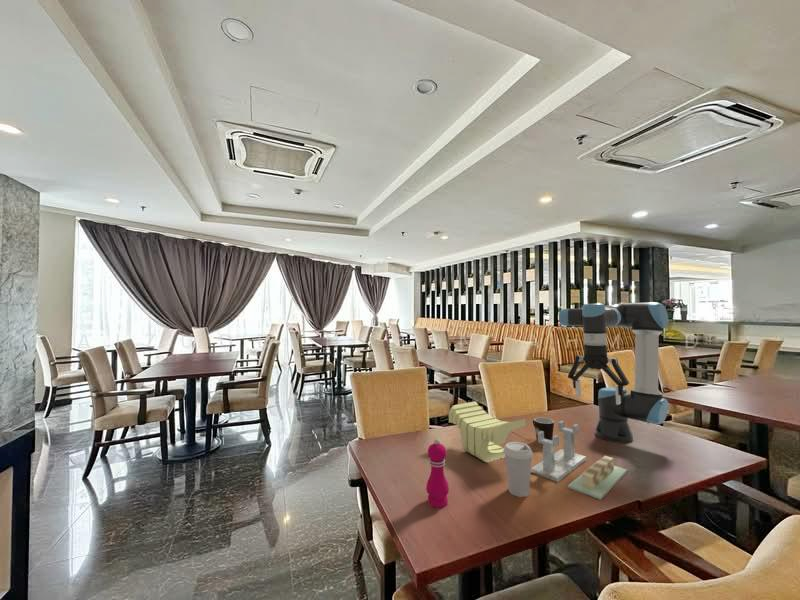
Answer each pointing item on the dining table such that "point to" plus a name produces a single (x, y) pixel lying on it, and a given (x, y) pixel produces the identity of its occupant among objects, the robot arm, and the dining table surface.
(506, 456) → the coffee cup
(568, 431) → the rail stand
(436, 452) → the pepper mill
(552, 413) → the dining table surface
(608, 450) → the dining table surface
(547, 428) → the coffee mug
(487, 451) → the slatted curved stool
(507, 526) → the dining table surface
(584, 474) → the wooden rail
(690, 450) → the dining table surface
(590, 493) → the green mat
